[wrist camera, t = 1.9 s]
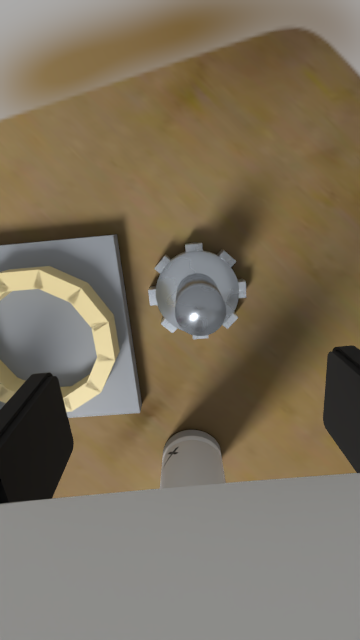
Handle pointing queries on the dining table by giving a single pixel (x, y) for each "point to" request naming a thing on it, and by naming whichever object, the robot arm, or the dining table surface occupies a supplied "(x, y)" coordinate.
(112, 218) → the dining table surface
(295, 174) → the dining table surface
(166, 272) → the gear
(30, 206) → the dining table surface
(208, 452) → the travel mug
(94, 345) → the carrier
